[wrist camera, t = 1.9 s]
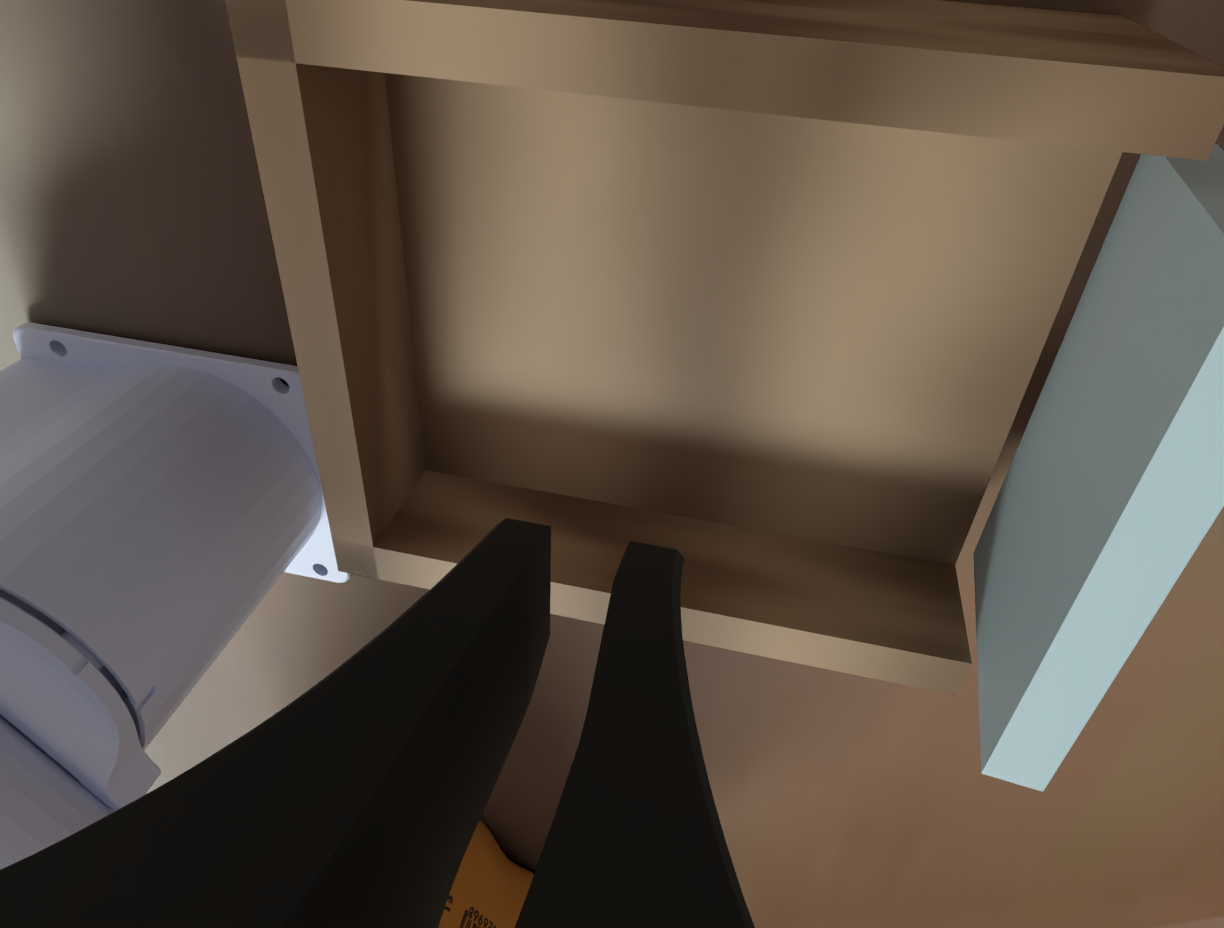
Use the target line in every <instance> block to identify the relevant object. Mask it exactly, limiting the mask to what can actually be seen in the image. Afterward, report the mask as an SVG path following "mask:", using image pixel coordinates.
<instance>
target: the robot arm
mask: <svg viewBox="0 0 1224 928" xmlns="http://www.w3.org/2000/svg"><path fill="white" fill-rule="evenodd" d="M13 337H14V341H15V344H16V346H17V348H18V351H19V353H20V355H21V358H22V359H20V360H19V361H17V362H15V363H14V364H12V365H10V366H9V367H7V368H5V369H4V370H2V371H0V928H438V926H439V923H440V920H441V917H442V914H443V911H444V908H445V905H446V902H447V899H448V896H449V893H450V890H451V888H452V885H453V883H454V880H455V878H456V875H457V872H458V870H459V867H460V865H461V862H462V859H463V857H464V855H465V852H466V850H467V848H468V845H469V843H470V841H471V838H472V836H473V834H474V832H475V829H476V827H477V825H478V822H479V820H480V818H481V815H482V813H483V811H484V808H485V806H486V804H487V801H488V799H489V797H490V795H491V792H492V790H493V788H494V785H495V783H496V781H497V778H498V776H499V774H500V771H501V769H502V767H503V764H504V762H505V760H506V758H507V755H508V753H509V751H510V748H511V746H512V743H513V741H514V739H515V736H516V734H517V732H518V729H519V727H520V725H521V722H522V720H523V718H524V715H525V713H526V710H527V708H528V706H529V703H530V700H531V697H532V693H533V690H534V687H535V684H536V680H537V677H538V674H539V671H540V667H541V664H542V660H543V657H544V653H545V650H546V647H547V643H548V640H549V636H550V591H551V526H547V525H542V524H537V523H531V522H526V521H520V520H515V519H510V518H506V519H504V520H502V521H501V522H499V523H498V524H497V525H496V526H495V527H494V528H493V529H492V530H491V531H490V532H489V533H488V534H487V535H486V536H485V537H484V538H483V539H482V540H481V541H480V542H479V543H478V544H477V545H476V546H475V547H474V548H473V549H472V550H471V551H470V552H469V553H468V554H467V555H466V556H465V557H464V558H463V559H462V560H461V561H460V562H459V563H458V564H457V565H456V566H455V567H454V568H453V569H452V570H451V571H449V572H448V573H447V574H446V575H445V576H444V577H443V578H442V579H441V580H440V581H439V582H438V583H437V584H436V585H435V586H434V587H433V588H431V589H430V590H429V591H428V592H427V593H426V594H425V595H424V596H422V597H421V598H420V599H419V600H418V601H417V602H416V603H415V604H414V605H412V606H411V607H410V608H409V609H408V610H407V611H406V612H405V613H404V614H402V615H401V616H400V617H399V618H398V619H397V620H396V621H395V622H393V623H392V624H391V625H390V626H389V627H388V628H386V629H385V630H384V631H383V632H382V633H380V634H379V635H378V636H377V637H376V638H374V639H373V640H372V641H371V642H369V643H368V644H367V645H366V646H364V647H363V648H362V649H361V650H359V651H358V652H357V653H356V654H355V655H353V656H352V657H351V658H350V659H348V660H347V661H346V662H345V663H343V664H342V665H341V666H340V667H338V668H337V669H336V670H335V671H333V672H332V673H331V674H330V675H328V676H327V677H326V678H324V679H323V680H322V681H320V682H319V683H318V684H316V685H315V686H314V687H312V688H311V689H310V690H308V691H307V692H306V693H304V694H303V695H301V696H300V697H299V698H297V699H296V700H295V701H293V702H292V703H290V704H289V705H287V706H286V707H285V708H283V709H282V710H280V711H279V712H277V713H276V714H274V715H273V716H272V717H270V718H269V719H267V720H266V721H264V722H263V723H261V724H260V725H258V726H257V727H256V728H254V729H253V730H251V731H249V732H248V733H246V734H245V735H243V736H242V737H240V738H238V739H237V740H235V741H234V742H232V743H231V744H229V745H227V746H226V747H224V748H223V749H221V750H220V751H218V752H216V753H215V754H213V755H212V756H210V757H208V758H207V759H205V760H204V761H202V762H201V763H199V764H197V765H196V766H194V767H192V768H191V769H189V770H187V771H186V772H184V773H182V774H181V775H179V776H177V777H176V778H174V779H172V780H171V781H169V782H167V783H165V784H164V785H162V786H160V787H159V788H157V789H155V790H153V791H151V792H150V793H148V794H146V792H147V791H148V790H149V788H150V787H151V786H152V784H153V783H154V782H155V780H156V779H157V778H158V776H159V775H160V774H161V771H160V769H159V767H158V766H157V765H156V764H155V763H154V762H153V761H152V760H151V759H150V758H149V757H148V755H147V754H146V753H145V751H144V750H145V749H146V747H147V746H148V745H149V744H150V742H151V741H152V740H153V738H154V737H155V736H156V735H157V733H158V732H159V731H160V730H161V728H162V727H163V726H164V724H165V723H166V722H167V721H168V719H169V718H170V717H171V715H172V714H173V713H174V712H175V710H176V709H177V708H178V707H179V705H180V704H181V703H182V701H183V700H184V699H185V698H186V696H187V695H188V694H189V692H190V691H191V690H192V689H193V687H194V686H195V685H196V684H197V682H198V681H199V680H200V678H201V677H202V676H203V675H204V673H205V672H206V671H207V669H208V668H209V667H210V666H211V664H212V663H213V662H214V660H215V659H216V658H217V657H218V655H219V654H220V653H221V652H222V650H223V649H224V648H225V646H226V645H227V644H228V643H229V641H230V640H231V639H232V637H233V636H234V635H235V634H236V632H237V631H238V630H239V629H240V627H241V626H242V625H243V623H244V622H245V621H246V620H247V618H248V617H249V616H250V614H251V613H252V612H253V611H254V609H255V608H256V607H257V606H258V604H259V603H260V602H261V600H262V599H263V598H264V597H265V595H266V594H267V593H268V591H269V590H270V589H271V588H272V586H273V585H274V584H275V583H276V581H277V580H278V579H279V577H280V576H281V575H282V574H283V572H287V573H292V574H297V575H302V576H307V577H312V578H317V579H322V580H327V581H332V582H338V583H343V582H346V581H347V580H348V579H349V578H350V576H351V575H352V574H350V573H345V572H340V571H338V567H337V562H336V557H335V552H334V547H333V542H332V537H331V532H330V527H329V522H328V517H327V512H326V507H325V502H324V496H323V491H322V486H321V481H320V476H319V471H318V466H317V461H316V456H315V451H314V446H313V441H312V436H311V431H310V426H309V421H308V416H307V411H306V406H305V401H304V396H303V391H302V386H301V381H300V376H299V370H298V366H293V365H287V364H281V363H275V362H269V361H263V360H257V359H250V358H244V357H238V356H232V355H226V354H220V353H214V352H208V351H202V350H196V349H189V348H183V347H177V346H171V345H165V344H159V343H153V342H147V341H141V340H135V339H128V338H122V337H116V336H110V335H104V334H98V333H92V332H86V331H80V330H74V329H67V328H61V327H55V326H49V325H43V324H37V323H24V324H23V325H21V326H19V327H17V328H16V329H15V330H14V332H13ZM63 345H64V346H63ZM280 378H282V379H284V380H285V381H286V382H287V383H288V385H289V386H286V385H285V384H283V383H282V382H281V380H280ZM683 564H684V557H683V556H682V555H681V554H680V553H679V551H678V550H677V549H672V548H666V547H661V546H655V545H650V544H645V543H639V542H634V541H629V543H628V546H627V548H626V550H625V553H624V555H623V557H622V560H621V562H620V565H619V567H618V570H617V573H616V575H615V578H614V581H613V585H612V590H611V595H610V600H609V605H608V610H607V615H606V620H605V625H604V630H603V635H602V640H601V645H600V650H599V655H598V660H597V665H596V670H595V675H594V680H593V685H592V690H591V695H590V700H589V705H588V710H587V715H586V719H585V722H584V726H583V730H582V734H581V738H580V742H579V745H578V748H577V751H576V754H575V757H574V760H573V763H572V766H571V769H570V772H569V775H568V778H567V781H566V784H565V787H564V790H563V793H562V796H561V799H560V802H559V805H558V808H557V811H556V814H555V817H554V819H553V822H552V825H551V828H550V831H549V834H548V836H547V839H546V842H545V845H544V848H543V850H542V853H541V856H540V859H539V862H538V865H537V867H536V870H535V873H534V876H533V879H532V882H531V884H530V887H529V890H528V893H527V896H526V898H525V901H524V904H523V906H522V909H521V912H520V914H519V917H518V920H517V922H516V925H515V928H755V927H754V924H753V922H752V919H751V916H750V913H749V911H748V908H747V905H746V903H745V900H744V897H743V894H742V891H741V888H740V885H739V882H738V879H737V876H736V873H735V869H734V866H733V863H732V860H731V857H730V854H729V851H728V847H727V844H726V841H725V838H724V834H723V831H722V827H721V824H720V820H719V817H718V813H717V810H716V806H715V803H714V799H713V795H712V791H711V788H710V784H709V780H708V776H707V772H706V767H705V763H704V759H703V755H702V750H701V745H700V741H699V736H698V732H697V727H696V722H695V717H694V712H693V706H692V701H691V695H690V689H689V682H688V675H687V668H686V662H685V655H684V646H683V637H682V622H681V598H680V593H681V578H682V571H683ZM145 794H146V795H145Z"/></svg>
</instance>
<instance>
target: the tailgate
mask: <svg viewBox="0 0 1224 928" xmlns="http://www.w3.org/2000/svg"><path fill="white" fill-rule="evenodd" d="M1223 506H1224V151H1223V150H1222V149H1221V148H1220V147H1219V146H1218V145H1217V144H1215V145H1214V147H1213V149H1212V151H1211V153H1210V155H1209V158H1208V160H1207V161H1201V160H1192V159H1183V158H1173V157H1164V156H1155V155H1146V154H1141V155H1140V158H1139V160H1138V162H1137V165H1136V167H1135V170H1134V172H1133V174H1132V177H1131V179H1130V182H1129V184H1128V186H1127V189H1126V191H1125V193H1124V196H1123V198H1122V201H1121V203H1120V205H1119V208H1118V210H1117V213H1116V215H1115V217H1114V220H1113V222H1112V224H1111V227H1110V229H1109V232H1108V234H1107V236H1106V239H1105V241H1104V244H1103V246H1102V248H1101V251H1100V253H1099V255H1098V258H1097V260H1096V263H1095V265H1094V267H1093V270H1092V272H1091V275H1090V277H1089V279H1088V282H1087V284H1086V286H1085V289H1084V291H1083V294H1082V296H1081V298H1080V301H1079V303H1078V306H1077V308H1076V310H1075V313H1074V315H1073V317H1072V320H1071V322H1070V325H1069V327H1068V329H1067V332H1066V334H1065V337H1064V339H1063V341H1062V344H1061V346H1060V348H1059V351H1058V353H1057V356H1056V358H1055V360H1054V363H1053V365H1052V368H1051V370H1050V372H1049V375H1048V377H1047V379H1046V382H1045V384H1044V387H1043V389H1042V391H1041V394H1040V396H1039V399H1038V401H1037V403H1036V406H1035V408H1034V410H1033V413H1032V415H1031V418H1030V420H1029V422H1028V425H1027V427H1026V430H1025V432H1024V434H1023V437H1022V439H1021V441H1020V444H1019V446H1018V449H1017V451H1016V453H1015V456H1014V458H1013V461H1012V463H1011V465H1010V468H1009V470H1008V472H1007V475H1006V477H1005V480H1004V482H1003V484H1002V487H1001V489H1000V492H999V494H998V496H997V499H996V501H995V503H994V506H993V508H992V511H991V513H990V515H989V518H988V520H987V523H986V525H985V527H984V530H983V532H982V534H981V537H980V539H979V542H978V544H977V546H976V549H975V551H974V578H975V607H976V635H977V664H978V692H979V721H980V750H981V773H982V774H985V775H989V776H992V777H995V778H999V779H1002V780H1005V781H1009V782H1012V783H1016V784H1019V785H1022V786H1026V787H1029V788H1032V789H1036V790H1039V791H1044V789H1045V788H1046V786H1047V784H1048V783H1049V781H1050V780H1051V778H1052V777H1053V775H1054V773H1055V772H1056V770H1057V769H1058V767H1059V765H1060V764H1061V762H1062V761H1063V759H1064V758H1065V756H1066V754H1067V753H1068V751H1069V750H1070V748H1071V746H1072V745H1073V743H1074V742H1075V740H1076V739H1077V737H1078V735H1079V734H1080V732H1081V731H1082V729H1083V727H1084V726H1085V724H1086V723H1087V721H1088V720H1089V718H1090V716H1091V715H1092V713H1093V712H1094V710H1095V708H1096V707H1097V705H1098V704H1099V702H1100V701H1101V699H1102V697H1103V696H1104V694H1105V693H1106V691H1107V690H1108V688H1109V686H1110V685H1111V683H1112V682H1113V680H1114V678H1115V677H1116V675H1117V674H1118V672H1119V671H1120V669H1121V667H1122V666H1123V664H1124V663H1125V661H1126V659H1127V658H1128V656H1129V655H1130V653H1131V652H1132V650H1133V648H1134V647H1135V645H1136V644H1137V642H1138V640H1139V639H1140V637H1141V636H1142V634H1143V633H1144V631H1145V629H1146V628H1147V626H1148V625H1149V623H1150V621H1151V620H1152V618H1153V617H1154V615H1155V614H1156V612H1157V610H1158V609H1159V607H1160V606H1161V604H1162V602H1163V601H1164V599H1165V598H1166V596H1167V595H1168V593H1169V591H1170V590H1171V588H1172V587H1173V585H1174V584H1175V582H1176V580H1177V579H1178V577H1179V576H1180V574H1181V572H1182V571H1183V569H1184V568H1185V566H1186V565H1187V563H1188V561H1189V560H1190V558H1191V557H1192V555H1193V553H1194V552H1195V550H1196V549H1197V547H1198V546H1199V544H1200V542H1201V541H1202V539H1203V538H1204V536H1205V534H1206V533H1207V531H1208V530H1209V528H1210V527H1211V525H1212V523H1213V522H1214V520H1215V519H1216V517H1217V515H1218V514H1219V512H1220V511H1221V509H1222V508H1223Z"/></svg>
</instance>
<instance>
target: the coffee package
mask: <svg viewBox="0 0 1224 928" xmlns="http://www.w3.org/2000/svg"><path fill="white" fill-rule="evenodd" d="M533 876H534V873H532V872H530V871H528V870H526V869H524V868H521V867H519V866H518V865H516V864H514V863H513V862H512V861H510V860H509V859H508V858H507V857H506V856H505V854H504V853H503V852H502V850H501V849H500V847H499V846H498V844H497V843H496V841H495V839H494V837H493V835H492V834H491V832H490V831H489V829H488V828H487V827H486V826H485V824H484V823H483V822H482V821H481V820H479V822H478V825H477V827H476V829H475V832H474V834H473V836H472V838H471V841H470V843H469V845H468V848H467V850H466V852H465V855H464V857H463V859H462V862H461V865H460V867H459V870H458V872H457V875H456V878H455V880H454V883H453V885H452V888H451V890H450V893H449V896H448V899H447V902H446V905H445V908H444V911H443V914H442V917H441V920H440V923H439V926H438V928H515V925H516V922H517V920H518V917H519V914H520V912H521V909H522V906H523V904H524V901H525V898H526V896H527V893H528V890H529V887H530V884H531V882H532V879H533Z"/></svg>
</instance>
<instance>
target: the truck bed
mask: <svg viewBox="0 0 1224 928" xmlns="http://www.w3.org/2000/svg"><path fill="white" fill-rule="evenodd" d="M225 3H226V8H227V13H228V18H229V23H230V28H231V33H232V38H233V43H234V48H235V53H236V58H237V63H238V68H239V73H240V78H241V83H242V88H243V93H244V98H245V103H246V108H247V113H248V119H249V124H250V129H251V134H252V139H253V144H254V149H255V154H256V159H257V164H258V169H259V174H260V179H261V184H262V189H263V194H264V199H265V204H266V209H267V214H268V219H269V224H270V229H271V234H272V239H273V245H274V250H275V255H276V260H277V265H278V270H279V275H280V280H281V285H282V290H283V295H284V300H285V305H286V310H287V315H288V320H289V325H290V330H291V335H292V340H293V345H294V350H295V355H296V360H297V365H298V370H299V376H300V381H301V386H302V391H303V396H304V401H305V406H306V411H307V416H308V421H309V426H310V431H311V436H312V441H313V446H314V451H315V456H316V461H317V466H318V471H319V476H320V481H321V486H322V491H323V496H324V502H325V507H326V512H327V517H328V522H329V527H330V532H331V537H332V542H333V547H334V552H335V557H336V562H337V567H338V571H340V572H345V573H350V574H355V575H360V576H365V577H370V578H375V579H380V580H385V581H390V582H395V583H400V584H405V585H410V586H415V587H420V588H425V589H431V588H433V587H434V586H435V585H436V584H437V583H438V582H439V581H440V580H441V579H442V578H443V577H444V576H445V575H446V574H447V573H448V572H449V571H451V570H452V569H453V568H454V567H455V566H456V565H457V564H458V563H459V562H460V561H461V560H462V559H463V558H464V557H465V556H466V555H467V554H468V553H469V552H470V551H471V550H472V549H473V548H474V547H475V546H476V545H477V544H478V543H479V542H480V541H481V540H482V539H483V538H484V537H485V536H486V535H487V534H488V533H489V532H490V531H491V530H492V529H493V528H494V527H495V526H496V525H497V524H498V523H499V522H501V521H502V520H504V519H506V518H510V519H515V520H520V521H526V522H531V523H537V524H542V525H547V526H551V591H550V614H554V615H559V616H564V617H569V618H574V619H579V620H584V621H589V622H594V623H599V624H604V625H605V620H606V615H607V610H608V605H609V600H610V595H611V590H612V585H613V581H614V578H615V575H616V573H617V570H618V567H619V565H620V562H621V560H622V557H623V555H624V553H625V550H626V548H627V546H628V543H629V541H634V542H639V543H645V544H650V545H655V546H661V547H666V548H672V549H677V550H678V551H679V553H680V554H681V555H682V556H683V557H684V564H683V571H682V578H681V593H680V598H681V622H682V637H683V640H684V641H689V642H694V643H699V644H704V645H709V646H714V647H719V648H724V649H729V650H734V651H739V652H744V653H749V654H754V655H759V656H764V657H769V658H774V659H779V660H784V661H789V662H794V663H799V664H804V665H809V666H814V667H819V668H824V669H829V670H834V671H838V672H843V673H848V674H853V675H858V676H863V677H868V678H873V679H878V680H883V681H888V682H893V683H898V684H903V685H908V686H913V687H918V688H923V689H928V690H933V691H938V692H943V693H948V694H953V695H957V694H958V692H959V690H960V688H961V686H962V684H963V682H964V679H965V677H966V675H967V673H968V671H969V669H970V667H971V664H972V662H971V656H970V650H969V644H968V639H967V633H966V627H965V621H964V615H963V609H962V603H961V597H960V592H959V586H958V580H957V574H956V568H955V564H956V561H957V559H958V556H959V554H960V552H961V549H962V547H963V544H964V542H965V539H966V537H967V534H968V532H969V529H970V527H971V524H972V522H973V520H974V517H975V515H976V512H977V510H978V507H979V505H980V502H981V500H982V497H983V495H984V492H985V490H986V488H987V485H988V483H989V480H990V478H991V475H992V473H993V470H994V468H995V465H996V463H997V460H998V458H999V456H1000V453H1001V451H1002V448H1003V446H1004V443H1005V441H1006V438H1007V436H1008V433H1009V431H1010V428H1011V426H1012V423H1013V421H1014V419H1015V416H1016V414H1017V411H1018V409H1019V406H1020V404H1021V401H1022V399H1023V396H1024V394H1025V391H1026V389H1027V387H1028V384H1029V382H1030V379H1031V377H1032V374H1033V372H1034V369H1035V367H1036V364H1037V362H1038V359H1039V357H1040V355H1041V352H1042V350H1043V347H1044V345H1045V342H1046V340H1047V337H1048V335H1049V332H1050V330H1051V327H1052V325H1053V322H1054V320H1055V318H1056V315H1057V313H1058V310H1059V308H1060V305H1061V303H1062V300H1063V298H1064V295H1065V293H1066V290H1067V288H1068V286H1069V283H1070V281H1071V278H1072V276H1073V273H1074V271H1075V268H1076V266H1077V263H1078V261H1079V258H1080V256H1081V254H1082V251H1083V249H1084V246H1085V244H1086V241H1087V239H1088V236H1089V234H1090V231H1091V229H1092V226H1093V224H1094V222H1095V219H1096V217H1097V214H1098V212H1099V209H1100V207H1101V204H1102V202H1103V199H1104V197H1105V194H1106V192H1107V189H1108V187H1109V185H1110V182H1111V180H1112V177H1113V175H1114V172H1115V170H1116V167H1117V165H1118V162H1119V160H1120V157H1121V155H1122V153H1123V152H1127V153H1136V154H1146V155H1155V156H1164V157H1173V158H1183V159H1192V160H1201V161H1207V160H1208V158H1209V155H1210V153H1211V151H1212V149H1213V147H1214V145H1215V143H1216V141H1217V138H1218V136H1219V134H1220V132H1221V130H1222V128H1223V126H1224V68H1223V67H1221V66H1219V65H1217V64H1216V63H1214V62H1212V61H1210V60H1208V59H1206V58H1204V57H1202V56H1200V55H1198V54H1196V53H1194V52H1192V51H1191V50H1189V49H1187V48H1185V47H1183V46H1181V45H1179V44H1177V43H1175V42H1173V41H1171V40H1169V39H1167V38H1166V37H1164V36H1162V35H1160V34H1158V33H1156V32H1154V31H1152V30H1150V29H1148V28H1146V27H1144V26H1143V25H1141V24H1139V23H1137V22H1135V21H1133V20H1131V19H1129V18H1127V17H1125V16H1121V15H1110V14H1098V13H1086V12H1074V11H1063V10H1051V9H1039V8H1028V7H1016V6H1004V5H992V4H981V3H969V2H957V1H946V0H225Z"/></svg>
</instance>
